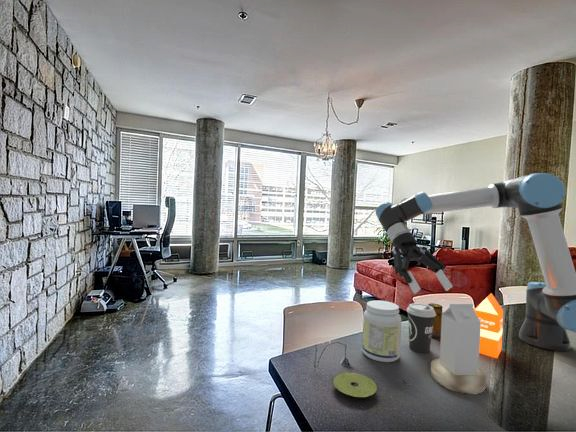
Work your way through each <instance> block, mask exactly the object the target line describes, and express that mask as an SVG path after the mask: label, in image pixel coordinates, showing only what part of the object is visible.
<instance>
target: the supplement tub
mask: <svg viewBox="0 0 576 432" xmlns="http://www.w3.org/2000/svg"><path fill="white" fill-rule="evenodd" d="M365 308H366V310H365V311H364V313H363V322H362V323H363V326H362V352H363V354H364V356H366V357H367V358H369V359H371V360H373V361H376V362H381V363H392V362H395V361H397V360H398V359H399V358H400V355H401V339H402V316H401V315H400V314H399V313H400V306H399V305H398V304H397V303H394V302H391V301H387V300H379V299H378V300H369V301H367V302H366V307H365Z"/></svg>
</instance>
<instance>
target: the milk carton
mask: <svg viewBox="0 0 576 432" xmlns="http://www.w3.org/2000/svg"><path fill="white" fill-rule="evenodd" d="M474 309H475V308H474V304H473V303H449V307H448V308H447V309H446V310H445V311H442V321H441V340H440V345H439V347H440V348H439V358H440V363H441V364H442V365H443V366H444V367H445V368H447V369H448V370H449V371H450V372H451V373H453V374H454V375H478V369H480V367H479V365H480V353H479V348H480V327H481V322H480V320H479V318H478V316H477V315H476V313H475V311H474Z"/></svg>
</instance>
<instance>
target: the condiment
mask: <svg viewBox="0 0 576 432" xmlns="http://www.w3.org/2000/svg"><path fill="white" fill-rule="evenodd" d="M427 305H429V306H431V307H433V308H434V311H435V313H436V316H435V317H434V323H433V329H432V336H431V339H435V340H437V341H441V321H442V313H443V306H442V305H441V304H438V303H428V304H427Z"/></svg>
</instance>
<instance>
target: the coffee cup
mask: <svg viewBox="0 0 576 432" xmlns="http://www.w3.org/2000/svg"><path fill="white" fill-rule="evenodd" d="M406 312H407V317H408V318H407V320H408V324H407V325H408V341H409V342H408V343H409V349H410V350H412V351H414V352H416V353H419V354H427V353H430V351H431V349H430V348H431V344H432V343H431V342H432V337H431V336H432V329H433V323H434V317H435V316H436V313H435V311H434V308H433V307H431V306H429V305H428V304H424V303H415V302H414V303H409V305H408V306H407V308H406Z"/></svg>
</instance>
